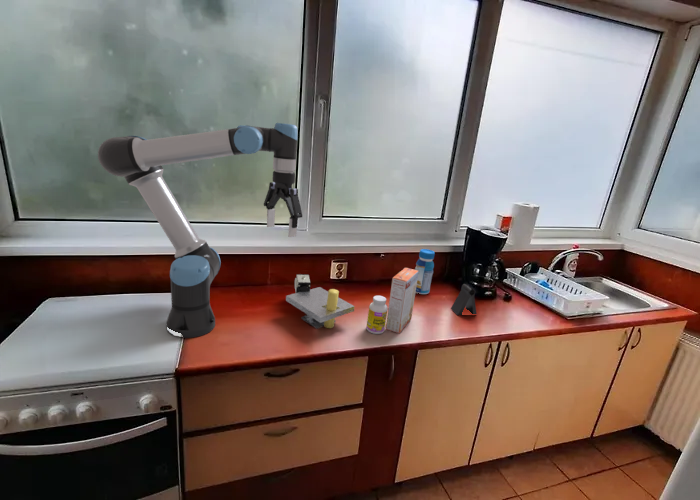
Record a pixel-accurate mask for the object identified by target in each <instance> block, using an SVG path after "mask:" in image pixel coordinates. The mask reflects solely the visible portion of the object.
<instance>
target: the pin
mask: <svg viewBox="0 0 700 500" xmlns="http://www.w3.org/2000/svg"><path fill="white" fill-rule="evenodd" d="M339 293H340V291H339V290H338V289H335V288H330V289H329V290H328V299H327V306H326V309H327V310H328V311H333V310H336V308H337V301H338V297H339ZM335 320H336V318H333V319H330V320H327V321H324V326H323V327H324V328H326V329H332V328H334V326H335V323H334V321H335ZM335 322H336V321H335Z"/></svg>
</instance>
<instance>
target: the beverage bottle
mask: <svg viewBox="0 0 700 500" xmlns="http://www.w3.org/2000/svg"><path fill="white" fill-rule="evenodd" d="M435 255H436V254H435V251H434V250H431V249H428V248H422V249H420V250H419V254H418V257H419V258H418V259H417V261H416V263H415V265H416V266H415V268H414V270H417V271H419V273H418V279H417V286H416V292H415V294H418V293H419V294H420V295H427V294H429V293H430V291H431V283H432V279H433V274H434V268H435V263H434V261H433V260H434V259H435ZM419 294H418V295H419Z"/></svg>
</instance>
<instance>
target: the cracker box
mask: <svg viewBox="0 0 700 500" xmlns="http://www.w3.org/2000/svg"><path fill="white" fill-rule="evenodd" d="M418 273H419V271H417V270H415V269H412V268H409V267H404V268H403V269H402V270H401V271H399V272H398V273H397V274H395V275H394V276H393V277H392V279H391V288H390V292H389V293H390V294H389V302H388V310H387V316H386V322H385V330H387V331H390V332H394V333H397V334H401V333H402V331H403V330H404V329H405V327H406V326H407V325H408V324H409V322H411V320H412V318H413V312H414V303H415V299H416V298H415V296H416V286H417V279H418Z"/></svg>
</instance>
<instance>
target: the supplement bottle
mask: <svg viewBox="0 0 700 500" xmlns="http://www.w3.org/2000/svg"><path fill="white" fill-rule="evenodd" d="M386 303H387V298H386V297H385V296H383V295H374V296H373V297H372V302H371V303H370V304H369V307H368V312H367V321H366V330H367V331H368V333H371V334H373V335H381V334H383V333H384V332H385V330H386V323H387V315H388V308H389V306H388V305H387V304H386Z"/></svg>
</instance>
